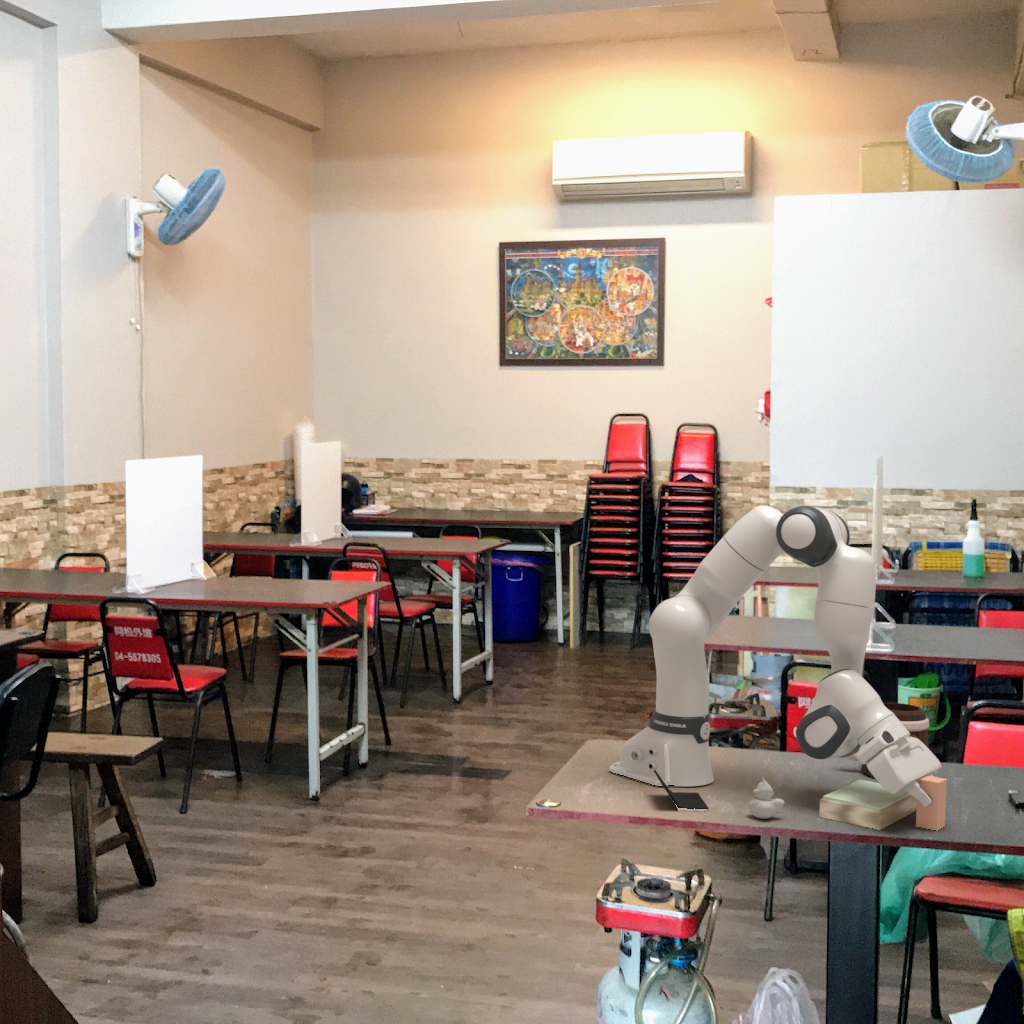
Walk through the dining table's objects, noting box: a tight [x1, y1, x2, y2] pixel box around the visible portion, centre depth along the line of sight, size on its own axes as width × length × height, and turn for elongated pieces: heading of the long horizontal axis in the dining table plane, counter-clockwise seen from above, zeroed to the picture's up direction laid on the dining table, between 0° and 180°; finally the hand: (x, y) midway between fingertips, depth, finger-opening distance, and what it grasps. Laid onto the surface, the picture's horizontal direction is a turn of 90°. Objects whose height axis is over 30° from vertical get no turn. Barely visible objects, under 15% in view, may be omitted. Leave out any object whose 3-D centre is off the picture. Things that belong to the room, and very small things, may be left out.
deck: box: [818, 778, 917, 831], centre depth 231 cm, size 12×18×4 cm, turn 140°
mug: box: [846, 702, 930, 779], centre depth 261 cm, size 20×15×15 cm
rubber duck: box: [748, 775, 786, 820], centre depth 226 cm, size 5×7×8 cm
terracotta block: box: [915, 775, 948, 832], centre depth 223 cm, size 4×4×9 cm
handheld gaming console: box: [654, 770, 709, 810], centre depth 234 cm, size 12×7×10 cm
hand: (934, 801), depth 222 cm, fingers closed on terracotta block, 4 cm apart
